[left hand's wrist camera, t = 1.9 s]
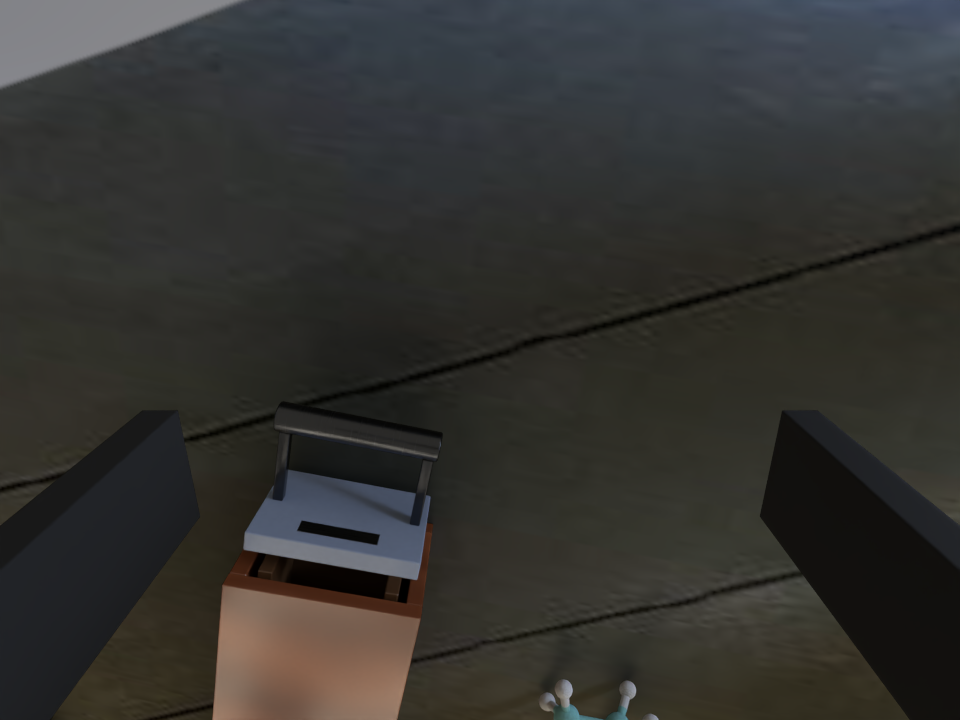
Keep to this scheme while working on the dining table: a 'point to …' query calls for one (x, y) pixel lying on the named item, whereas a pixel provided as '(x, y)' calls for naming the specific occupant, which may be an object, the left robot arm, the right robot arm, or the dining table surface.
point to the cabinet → (312, 648)
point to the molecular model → (568, 714)
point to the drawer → (343, 510)
